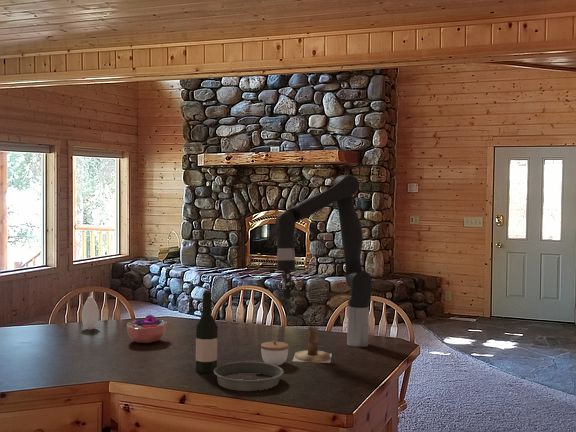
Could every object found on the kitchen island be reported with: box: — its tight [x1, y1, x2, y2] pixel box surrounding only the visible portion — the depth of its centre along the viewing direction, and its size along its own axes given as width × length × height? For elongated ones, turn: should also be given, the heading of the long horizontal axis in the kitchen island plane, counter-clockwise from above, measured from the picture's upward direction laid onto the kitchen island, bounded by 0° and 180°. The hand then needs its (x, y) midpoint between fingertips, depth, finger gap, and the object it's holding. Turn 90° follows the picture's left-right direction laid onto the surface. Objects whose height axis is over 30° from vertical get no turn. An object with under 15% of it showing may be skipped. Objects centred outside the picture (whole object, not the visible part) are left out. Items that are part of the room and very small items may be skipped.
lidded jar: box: [260, 339, 289, 366], centre depth 259 cm, size 11×11×9 cm
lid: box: [294, 326, 331, 363], centre depth 269 cm, size 14×14×12 cm
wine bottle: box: [195, 289, 219, 374], centre depth 248 cm, size 8×8×30 cm
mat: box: [291, 353, 333, 364], centre depth 270 cm, size 15×15×1 cm
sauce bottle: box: [81, 291, 100, 331], centre depth 316 cm, size 8×8×18 cm
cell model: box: [126, 314, 168, 344], centre depth 292 cm, size 17×20×11 cm
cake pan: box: [213, 361, 284, 392], centre depth 235 cm, size 25×25×4 cm
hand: (287, 298), depth 280 cm, fingers open, 8 cm apart
